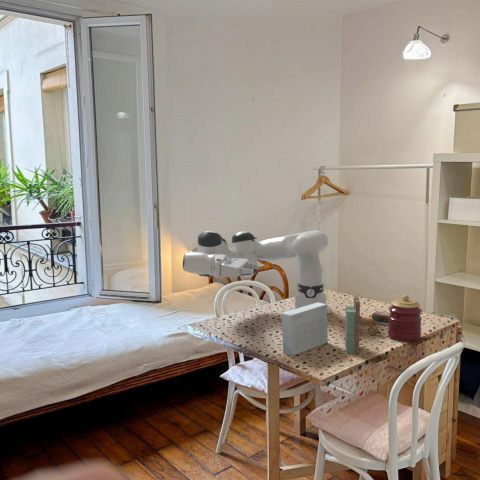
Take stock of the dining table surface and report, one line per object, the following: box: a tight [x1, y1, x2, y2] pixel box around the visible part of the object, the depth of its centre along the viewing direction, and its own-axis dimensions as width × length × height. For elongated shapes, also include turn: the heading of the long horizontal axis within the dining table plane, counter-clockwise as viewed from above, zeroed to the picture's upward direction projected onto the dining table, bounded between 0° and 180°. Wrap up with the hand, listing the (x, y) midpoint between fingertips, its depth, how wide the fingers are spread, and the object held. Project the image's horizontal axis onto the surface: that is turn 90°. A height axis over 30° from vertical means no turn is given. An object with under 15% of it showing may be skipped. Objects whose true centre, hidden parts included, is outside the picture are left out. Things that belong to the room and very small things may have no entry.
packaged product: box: [371, 310, 390, 328], centre depth 224 cm, size 18×5×10 cm
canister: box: [387, 294, 423, 343], centre depth 206 cm, size 13×13×18 cm
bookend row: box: [344, 295, 361, 355], centre depth 193 cm, size 9×4×20 cm, turn 172°
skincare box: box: [281, 302, 329, 357], centre depth 196 cm, size 21×6×16 cm, turn 131°
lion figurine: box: [360, 315, 382, 337], centre depth 212 cm, size 15×5×9 cm, turn 67°
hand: (255, 269), depth 198 cm, fingers open, 8 cm apart
